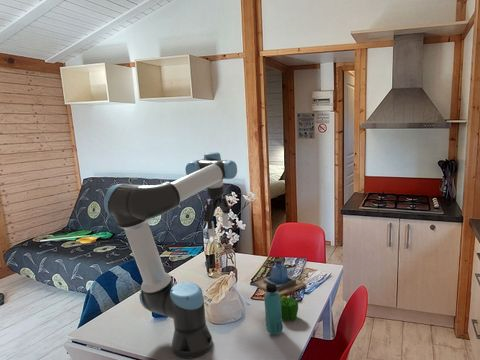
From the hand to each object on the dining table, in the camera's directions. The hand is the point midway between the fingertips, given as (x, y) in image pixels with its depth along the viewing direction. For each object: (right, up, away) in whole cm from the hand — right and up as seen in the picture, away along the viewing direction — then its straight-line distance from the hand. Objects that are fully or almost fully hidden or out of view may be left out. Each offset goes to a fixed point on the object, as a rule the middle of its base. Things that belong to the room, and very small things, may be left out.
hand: (219, 230), depth 172 cm
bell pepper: (+30, -34, -20) cm, 49 cm away
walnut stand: (+29, -28, +9) cm, 42 cm away
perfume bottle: (+29, -27, +9) cm, 41 cm away
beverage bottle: (+23, -36, -30) cm, 52 cm away
